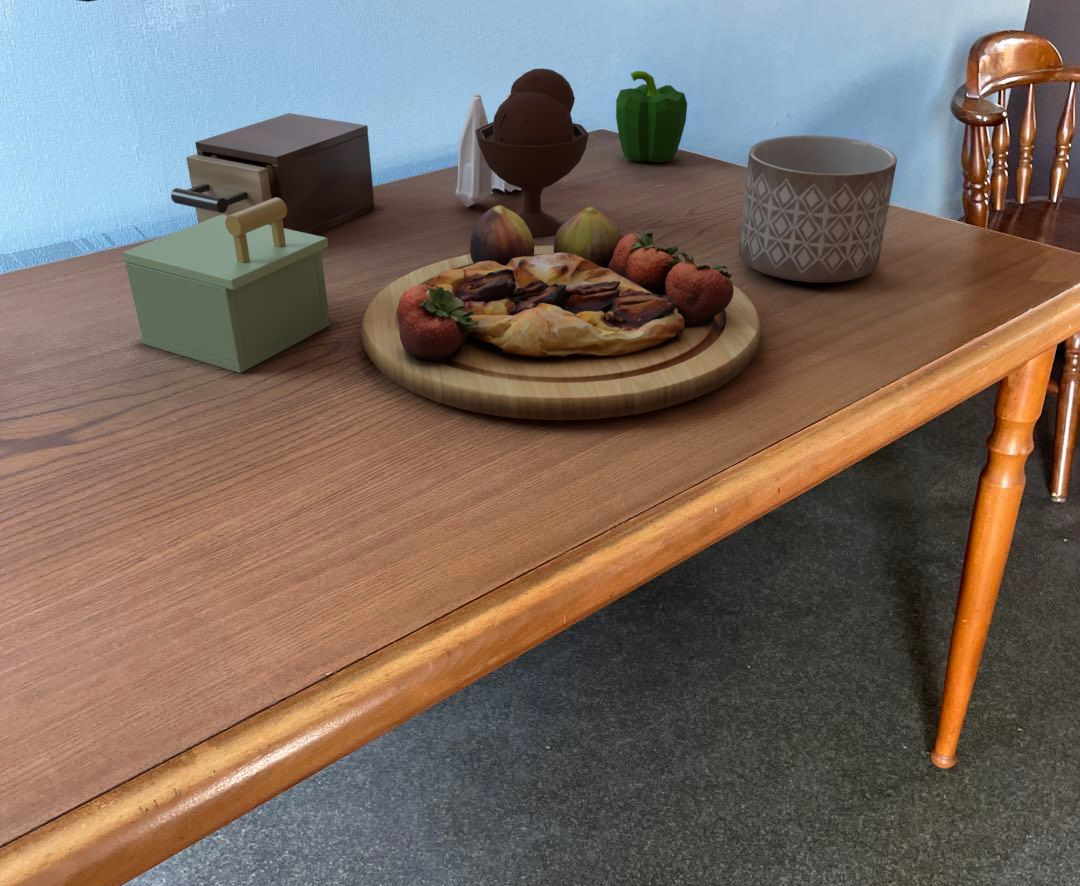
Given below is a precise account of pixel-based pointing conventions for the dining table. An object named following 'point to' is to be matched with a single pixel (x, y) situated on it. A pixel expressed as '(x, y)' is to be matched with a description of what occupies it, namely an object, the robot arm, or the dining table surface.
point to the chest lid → (230, 247)
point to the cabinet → (307, 166)
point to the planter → (816, 207)
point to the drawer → (225, 185)
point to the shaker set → (475, 159)
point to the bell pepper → (650, 120)
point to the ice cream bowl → (534, 141)
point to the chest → (230, 313)
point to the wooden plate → (561, 324)
